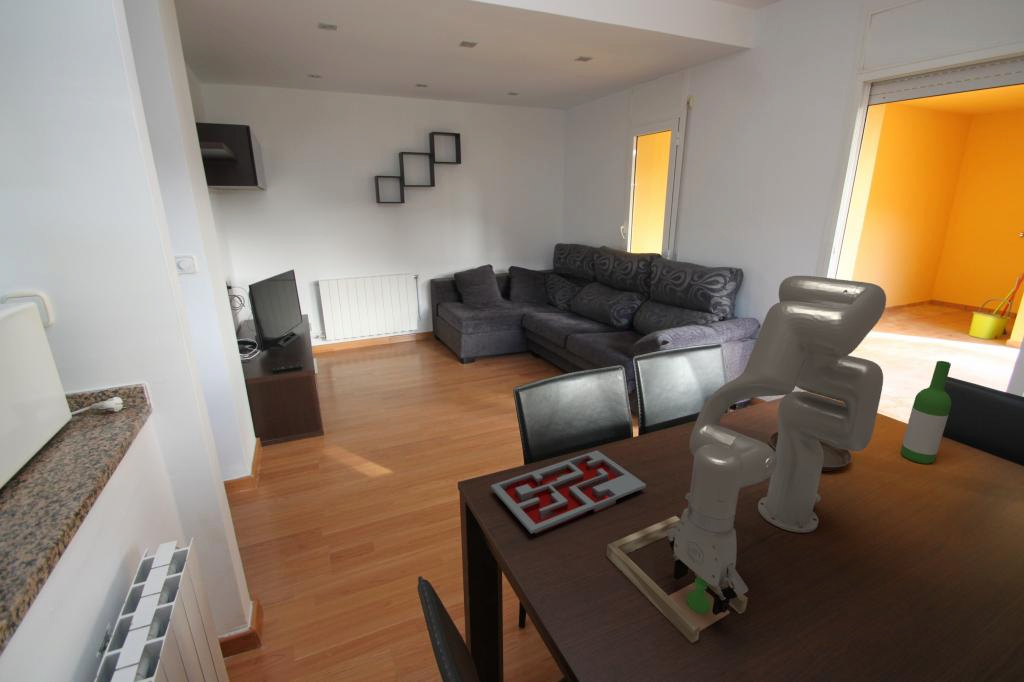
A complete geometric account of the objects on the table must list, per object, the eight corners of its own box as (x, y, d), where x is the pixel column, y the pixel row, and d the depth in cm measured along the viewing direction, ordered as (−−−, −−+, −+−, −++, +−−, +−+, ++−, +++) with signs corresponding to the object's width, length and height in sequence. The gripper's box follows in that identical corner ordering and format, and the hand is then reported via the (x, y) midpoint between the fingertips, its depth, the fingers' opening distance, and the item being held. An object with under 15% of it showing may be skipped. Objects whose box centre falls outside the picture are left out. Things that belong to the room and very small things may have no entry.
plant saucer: (807, 480, 126) (809, 470, 125) (752, 443, 145) (754, 434, 144) (867, 470, 130) (870, 460, 129) (807, 435, 149) (808, 426, 148)
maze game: (531, 542, 103) (531, 530, 102) (491, 495, 120) (491, 485, 119) (645, 495, 120) (646, 484, 119) (596, 459, 136) (597, 450, 135)
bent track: (674, 526, 108) (675, 515, 107) (765, 598, 88) (768, 585, 87) (606, 556, 99) (607, 544, 98) (692, 643, 79) (693, 630, 78)
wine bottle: (931, 455, 137) (959, 360, 128) (936, 468, 131) (966, 369, 122) (897, 448, 141) (923, 356, 132) (901, 460, 135) (928, 363, 126)
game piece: (715, 606, 86) (719, 580, 84) (701, 617, 84) (705, 591, 82) (694, 591, 89) (698, 566, 88) (681, 601, 87) (684, 576, 85)
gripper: (658, 493, 86) (650, 568, 91) (740, 553, 72) (725, 639, 77) (686, 482, 90) (677, 555, 95) (770, 537, 75) (754, 620, 80)
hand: (699, 592), depth 86 cm, fingers open, 8 cm apart
